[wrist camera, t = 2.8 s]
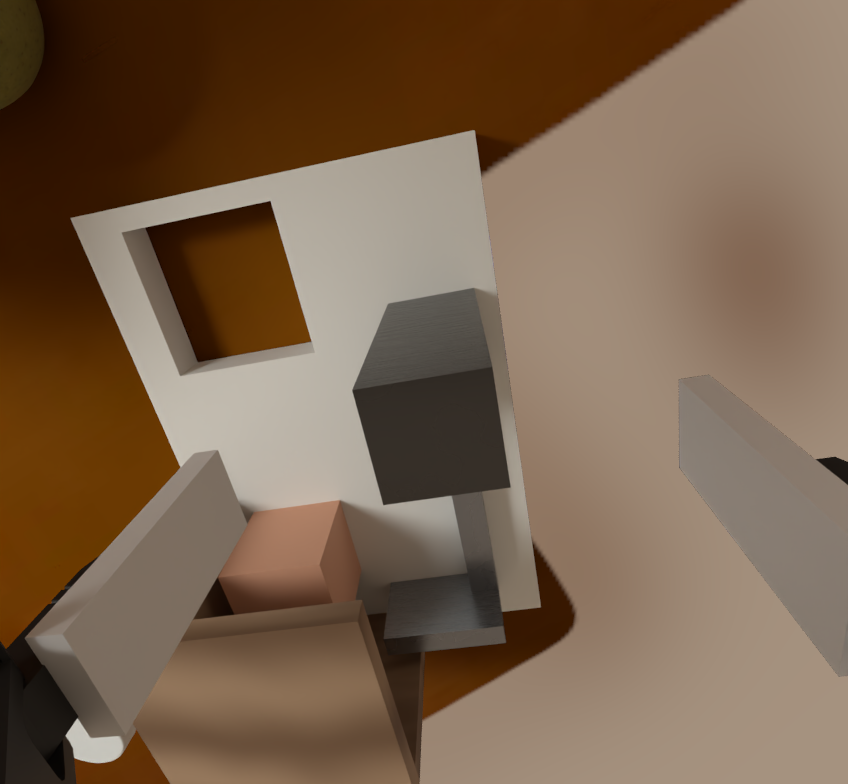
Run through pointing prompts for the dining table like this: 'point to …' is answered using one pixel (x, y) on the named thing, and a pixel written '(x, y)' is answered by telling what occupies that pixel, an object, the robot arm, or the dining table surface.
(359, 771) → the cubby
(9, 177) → the dining table surface
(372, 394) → the grey u-shaped bracket
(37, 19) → the apple
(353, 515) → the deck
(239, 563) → the cube
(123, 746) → the pill bottle
